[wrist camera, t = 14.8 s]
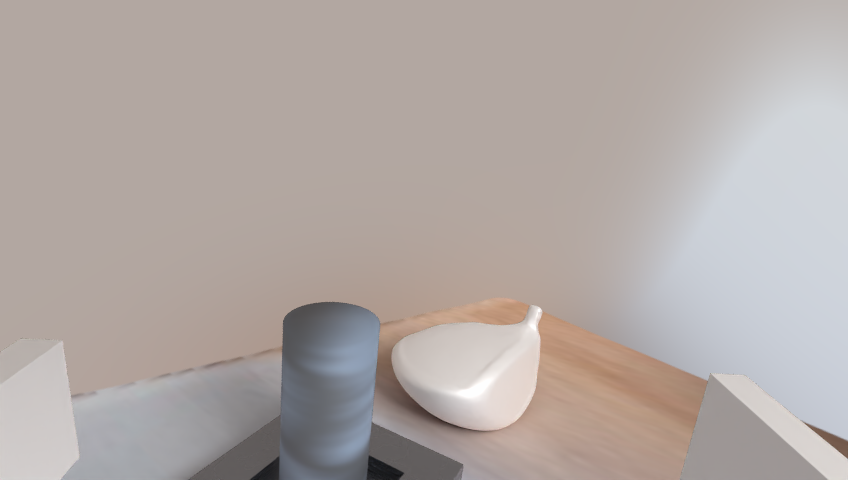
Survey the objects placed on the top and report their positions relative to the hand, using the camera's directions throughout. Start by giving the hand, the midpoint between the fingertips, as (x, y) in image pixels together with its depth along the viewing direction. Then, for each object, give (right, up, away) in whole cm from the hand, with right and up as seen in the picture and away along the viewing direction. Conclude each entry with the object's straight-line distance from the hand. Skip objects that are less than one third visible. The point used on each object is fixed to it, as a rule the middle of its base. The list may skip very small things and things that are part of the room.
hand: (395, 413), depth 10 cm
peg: (-5, -12, +16) cm, 20 cm away
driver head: (+3, -9, +29) cm, 31 cm away
